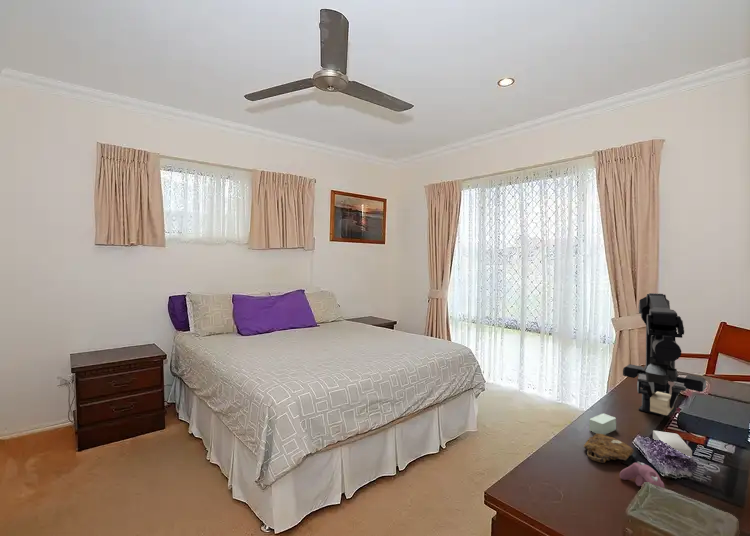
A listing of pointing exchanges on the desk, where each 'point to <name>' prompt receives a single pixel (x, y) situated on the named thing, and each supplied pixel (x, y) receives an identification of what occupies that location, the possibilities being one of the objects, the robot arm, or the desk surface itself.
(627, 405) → the desk surface
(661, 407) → the birch brick
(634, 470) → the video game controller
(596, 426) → the sage brick
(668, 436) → the white brick
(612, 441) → the decorative rock
